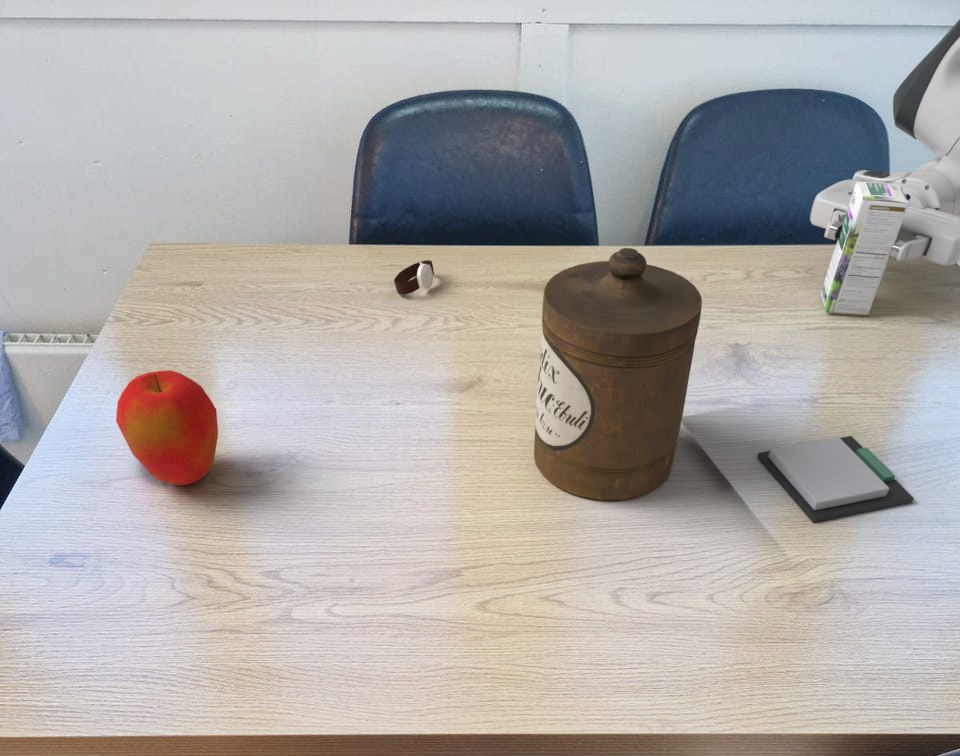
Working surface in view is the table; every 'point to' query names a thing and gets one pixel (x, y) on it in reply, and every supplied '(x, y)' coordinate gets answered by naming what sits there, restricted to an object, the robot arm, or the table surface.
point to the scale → (834, 478)
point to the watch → (421, 280)
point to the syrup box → (863, 247)
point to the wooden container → (613, 375)
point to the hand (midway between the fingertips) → (862, 242)
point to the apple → (169, 426)
